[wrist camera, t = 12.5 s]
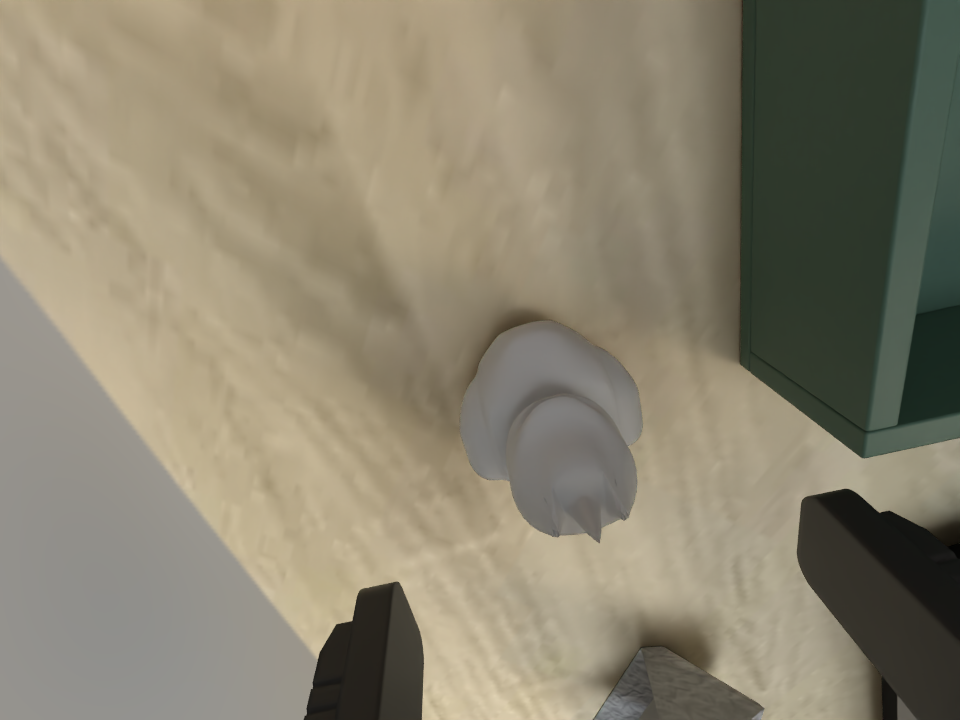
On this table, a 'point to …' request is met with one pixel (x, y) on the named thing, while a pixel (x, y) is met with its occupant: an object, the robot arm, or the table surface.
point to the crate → (854, 215)
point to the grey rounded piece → (555, 428)
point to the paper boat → (674, 692)
